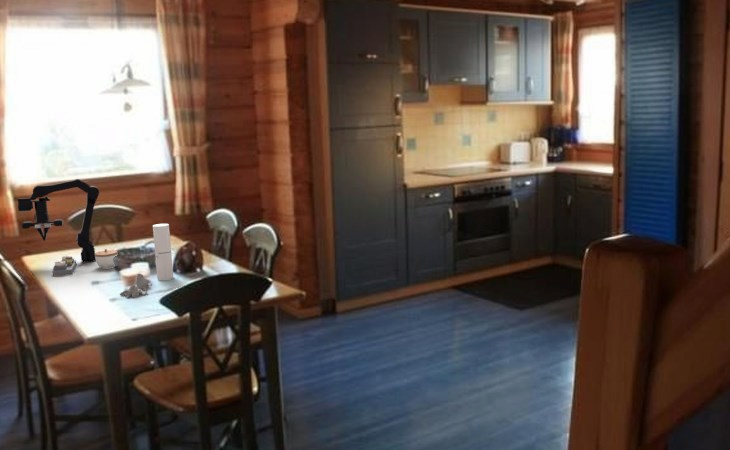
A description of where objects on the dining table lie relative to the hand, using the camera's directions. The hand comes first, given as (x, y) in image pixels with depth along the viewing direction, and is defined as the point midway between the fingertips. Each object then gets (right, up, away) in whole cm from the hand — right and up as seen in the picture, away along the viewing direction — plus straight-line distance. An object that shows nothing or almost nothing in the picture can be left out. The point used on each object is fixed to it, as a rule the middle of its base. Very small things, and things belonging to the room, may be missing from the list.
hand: (44, 240), depth 358 cm
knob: (+16, -15, -17) cm, 28 cm away
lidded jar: (+35, -14, -7) cm, 38 cm away
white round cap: (+14, -13, -5) cm, 20 cm away
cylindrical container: (+71, -17, -33) cm, 80 cm away
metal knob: (+17, -12, -10) cm, 23 cm away
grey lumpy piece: (+65, -22, -56) cm, 88 cm away
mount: (+15, -15, -10) cm, 23 cm away
